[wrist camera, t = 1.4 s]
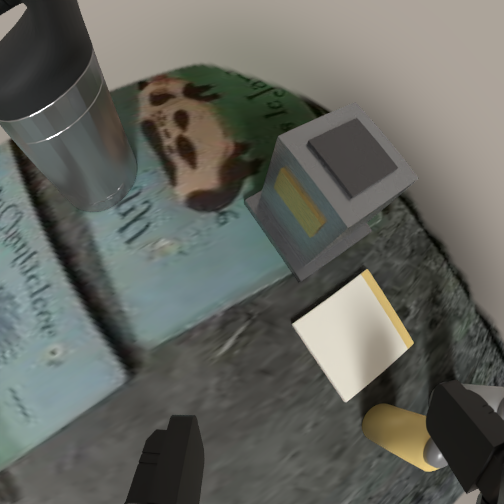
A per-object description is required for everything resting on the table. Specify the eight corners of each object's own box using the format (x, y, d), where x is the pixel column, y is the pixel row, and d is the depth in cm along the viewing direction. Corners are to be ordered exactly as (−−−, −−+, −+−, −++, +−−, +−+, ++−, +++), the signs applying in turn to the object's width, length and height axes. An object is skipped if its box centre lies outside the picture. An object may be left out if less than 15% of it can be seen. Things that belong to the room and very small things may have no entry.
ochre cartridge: (355, 421, 29) (415, 453, 18) (385, 395, 30) (455, 413, 19) (373, 448, 29) (434, 484, 17) (402, 422, 30) (471, 446, 18)
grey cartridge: (423, 399, 31) (494, 413, 19) (447, 374, 31) (519, 378, 20) (437, 423, 30) (505, 442, 18) (459, 399, 31) (529, 408, 19)
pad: (291, 324, 32) (292, 323, 31) (365, 270, 34) (367, 268, 33) (343, 401, 30) (345, 402, 29) (411, 343, 32) (414, 343, 31)
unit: (244, 203, 34) (258, 128, 21) (316, 163, 36) (357, 87, 24) (298, 282, 33) (348, 246, 20) (368, 233, 35) (435, 181, 22)
